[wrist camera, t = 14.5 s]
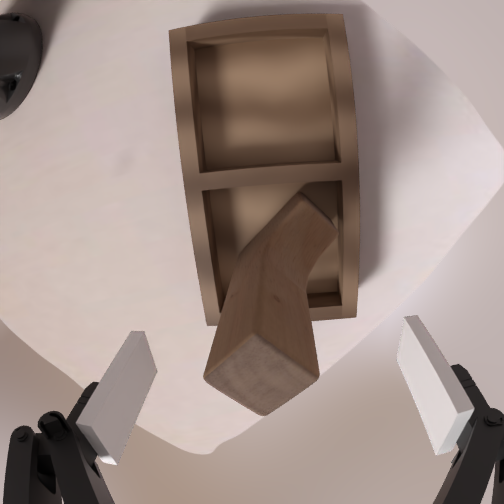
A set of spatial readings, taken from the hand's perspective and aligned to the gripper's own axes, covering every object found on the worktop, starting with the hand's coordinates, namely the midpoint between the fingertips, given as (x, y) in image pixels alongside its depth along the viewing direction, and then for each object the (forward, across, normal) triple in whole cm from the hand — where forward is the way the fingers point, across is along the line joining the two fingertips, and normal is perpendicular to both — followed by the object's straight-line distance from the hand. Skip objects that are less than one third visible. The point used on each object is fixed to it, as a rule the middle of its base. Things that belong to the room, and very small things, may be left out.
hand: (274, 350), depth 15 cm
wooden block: (+18, +1, 0) cm, 18 cm away
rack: (+19, 0, +6) cm, 20 cm away
